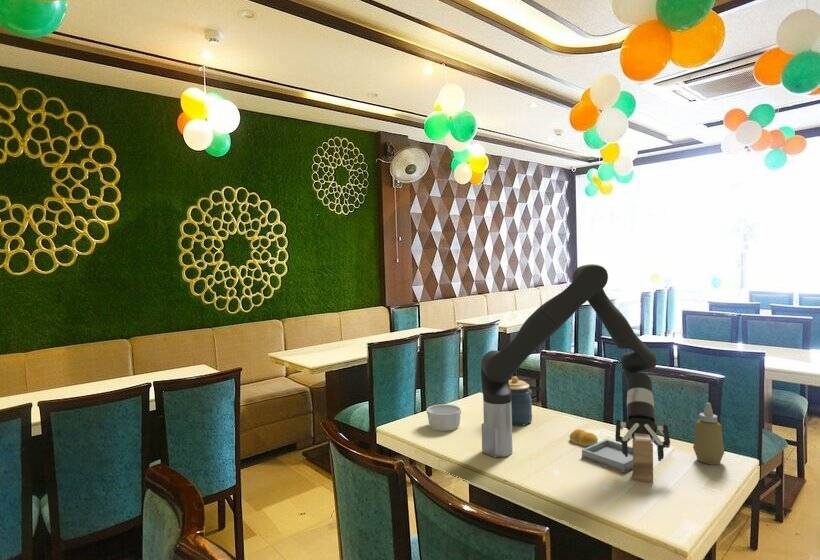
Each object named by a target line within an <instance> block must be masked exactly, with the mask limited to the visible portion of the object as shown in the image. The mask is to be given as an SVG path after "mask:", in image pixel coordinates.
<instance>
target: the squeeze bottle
mask: <svg viewBox="0 0 820 560" xmlns="http://www.w3.org/2000/svg"><path fill="white" fill-rule="evenodd" d="M722 431H723V430H722V425H721V423H720V422H718V415H716V414H714V412H713V407H712V404H711V402H705V406H704V410H703V412H700V413H699V419H698V420H696V422H695V429H694V439H693V447H692V449H693V451H694V453H695V456H696V459H697V460H698V461H699V462H701V463H703V464H708V465H719V464H721V461H722V459H723V457H724V454H725V447H724V441H723V432H722Z"/></svg>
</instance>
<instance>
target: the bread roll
mask: <svg viewBox="0 0 820 560" xmlns="http://www.w3.org/2000/svg"><path fill="white" fill-rule="evenodd" d="M569 440H570V442H572V443H573V444H576V445H580V447H581V446H582V447H589V446H592V445H594V444H596V443H599V442H598V440H599V439H598V436H597V435H596V434H594V433H592V432H589V431H588V432H586V431H585V430H584V429H574V430H573V431H572V432H571V433H570V434H569Z"/></svg>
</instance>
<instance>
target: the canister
mask: <svg viewBox="0 0 820 560" xmlns="http://www.w3.org/2000/svg"><path fill="white" fill-rule="evenodd" d="M509 387H510V391H511V397H512V426H524V425H523V424H527V425H529V424H531V423H532V422H531V421H533V412H532V405H533V404H532V402H533V399H532V396H531V395H532V394H533V393H532V392H533V391H532V390H531V389H530V384H529V383H527V381H524V380H520V379H519V378H518V376H513V375H512V376H511V379H509ZM530 422H531V423H530ZM528 423H529V424H528Z"/></svg>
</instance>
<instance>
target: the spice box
mask: <svg viewBox="0 0 820 560" xmlns="http://www.w3.org/2000/svg"><path fill="white" fill-rule="evenodd" d="M653 444H654V443H653V442H652V438H650V435H647V434H638V433H634V436H633V438H632V447H633V468H632V477H633V478H632V479H633V481H638V482H646V483H654V445H653Z"/></svg>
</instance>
